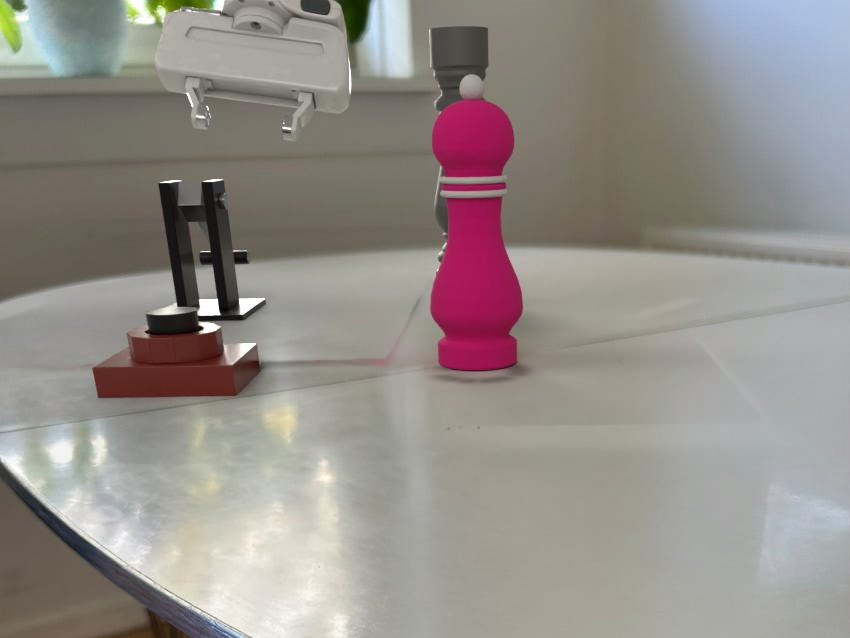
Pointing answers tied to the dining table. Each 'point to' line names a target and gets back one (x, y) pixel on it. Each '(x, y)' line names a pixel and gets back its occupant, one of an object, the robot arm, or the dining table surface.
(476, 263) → the pepper mill
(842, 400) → the dining table surface
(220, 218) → the bracket
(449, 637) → the dining table surface
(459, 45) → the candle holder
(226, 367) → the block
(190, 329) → the black push button
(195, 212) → the tap lever
